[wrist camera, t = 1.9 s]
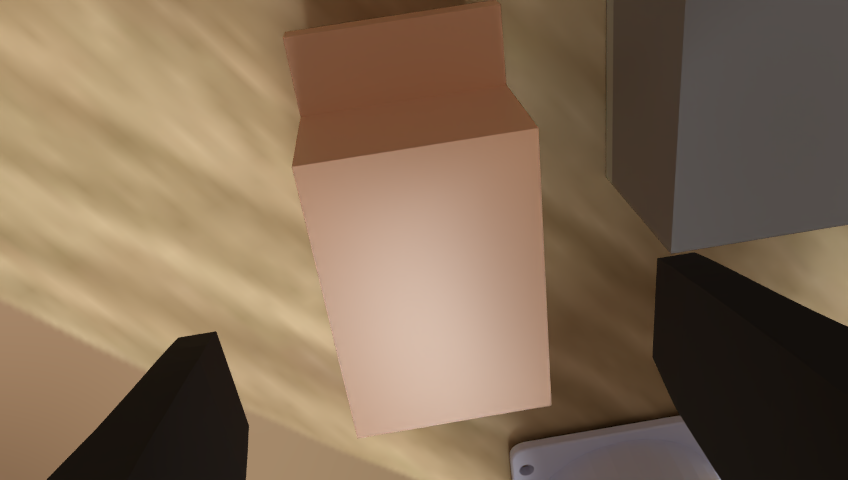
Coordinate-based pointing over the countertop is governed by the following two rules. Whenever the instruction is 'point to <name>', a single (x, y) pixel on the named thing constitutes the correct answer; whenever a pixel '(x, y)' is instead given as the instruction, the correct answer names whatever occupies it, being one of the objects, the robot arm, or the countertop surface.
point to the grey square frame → (728, 117)
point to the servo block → (423, 216)
